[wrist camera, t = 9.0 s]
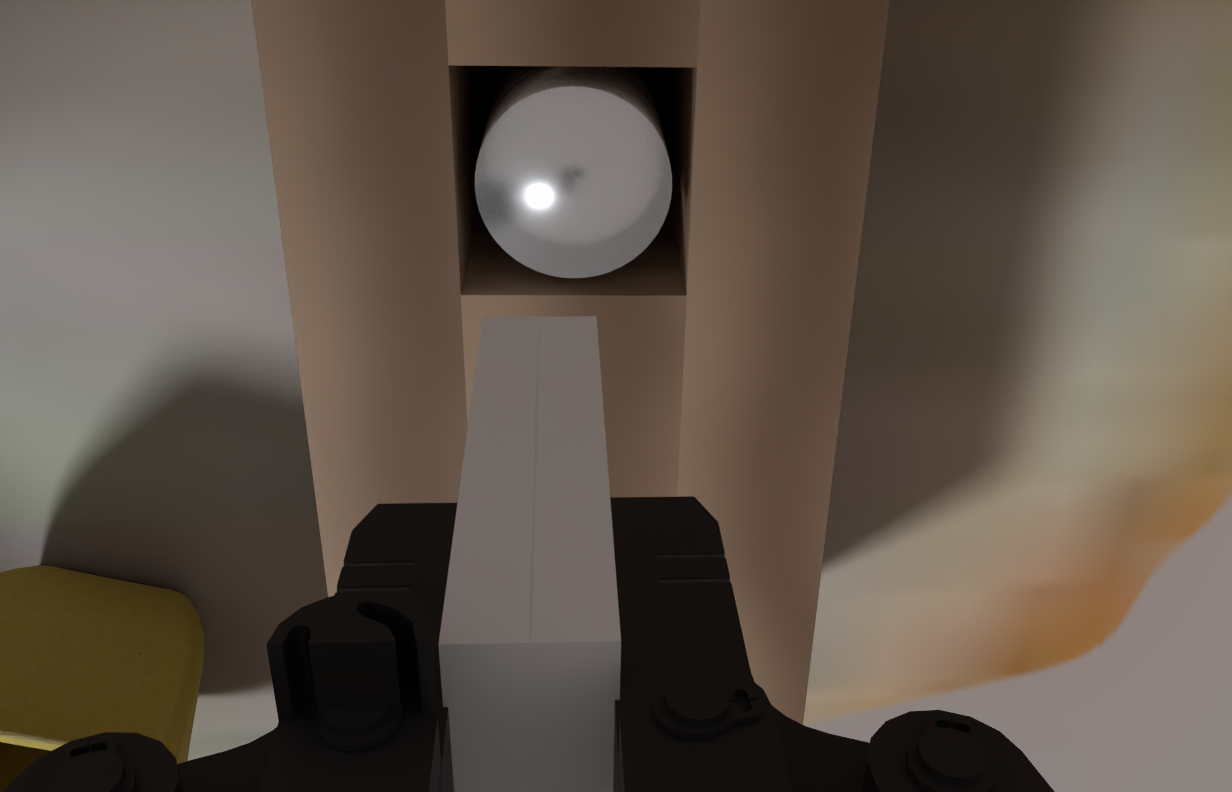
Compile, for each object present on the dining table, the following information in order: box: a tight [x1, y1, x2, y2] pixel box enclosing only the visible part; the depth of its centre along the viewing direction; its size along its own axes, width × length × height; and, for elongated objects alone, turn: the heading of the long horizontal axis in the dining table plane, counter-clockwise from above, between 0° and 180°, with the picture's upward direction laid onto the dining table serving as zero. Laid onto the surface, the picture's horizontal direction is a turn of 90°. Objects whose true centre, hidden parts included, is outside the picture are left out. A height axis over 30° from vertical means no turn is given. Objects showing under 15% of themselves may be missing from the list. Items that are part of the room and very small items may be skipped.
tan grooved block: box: [252, 0, 890, 725], centre depth 31 cm, size 12×24×9 cm, turn 179°
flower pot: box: [0, 565, 204, 792], centre depth 36 cm, size 9×9×9 cm
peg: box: [475, 66, 672, 278], centre depth 28 cm, size 4×4×9 cm
